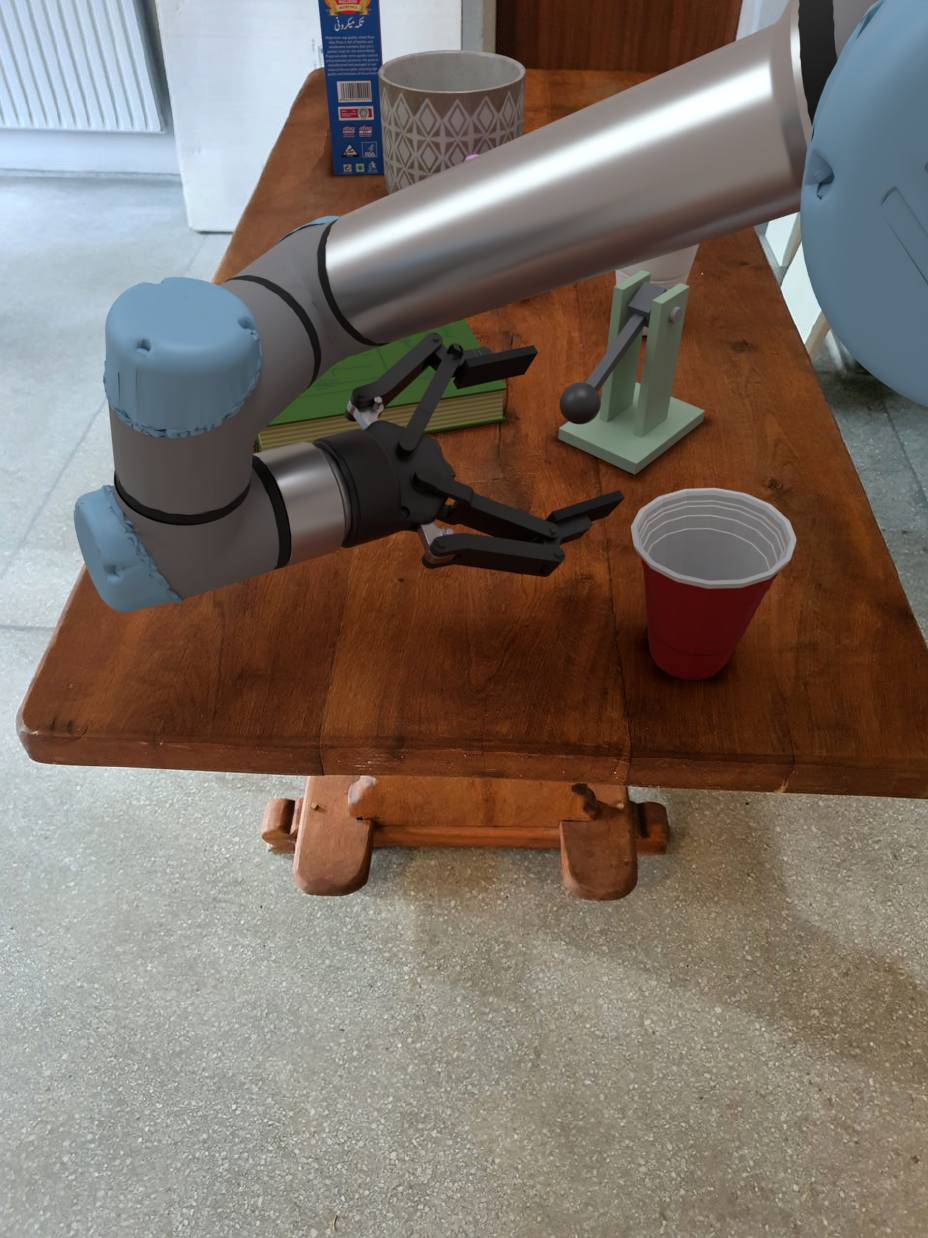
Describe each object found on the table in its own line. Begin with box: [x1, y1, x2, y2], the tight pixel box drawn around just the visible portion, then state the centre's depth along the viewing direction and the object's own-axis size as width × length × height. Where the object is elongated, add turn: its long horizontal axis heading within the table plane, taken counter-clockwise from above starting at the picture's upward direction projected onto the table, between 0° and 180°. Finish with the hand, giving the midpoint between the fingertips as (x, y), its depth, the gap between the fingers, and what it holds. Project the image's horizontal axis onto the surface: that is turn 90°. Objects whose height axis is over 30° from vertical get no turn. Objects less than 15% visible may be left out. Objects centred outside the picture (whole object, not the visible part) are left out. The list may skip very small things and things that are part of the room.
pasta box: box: [317, 0, 384, 176], centre depth 142 cm, size 28×8×28 cm, turn 4°
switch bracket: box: [557, 270, 706, 476], centre depth 88 cm, size 12×9×15 cm
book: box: [256, 318, 507, 452], centre depth 97 cm, size 25×19×4 cm
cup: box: [614, 244, 700, 337], centre depth 105 cm, size 10×10×11 cm
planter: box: [378, 49, 526, 196], centre depth 130 cm, size 19×19×16 cm
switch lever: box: [559, 281, 667, 425], centre depth 83 cm, size 14×4×4 cm, turn 139°
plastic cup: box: [630, 487, 798, 681], centre depth 67 cm, size 11×11×12 cm
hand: (570, 429), depth 73 cm, fingers open, 13 cm apart
